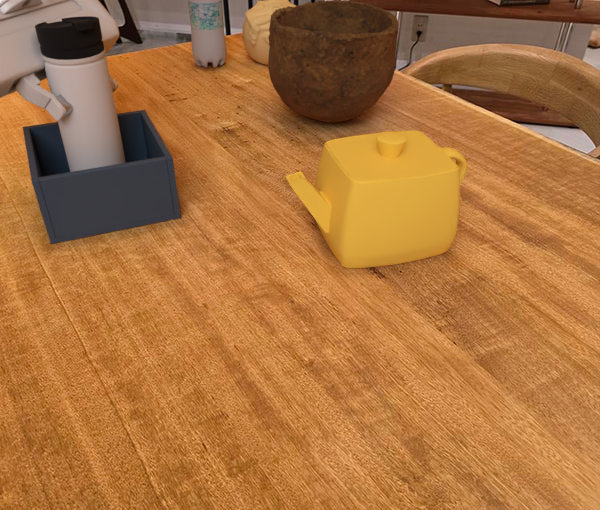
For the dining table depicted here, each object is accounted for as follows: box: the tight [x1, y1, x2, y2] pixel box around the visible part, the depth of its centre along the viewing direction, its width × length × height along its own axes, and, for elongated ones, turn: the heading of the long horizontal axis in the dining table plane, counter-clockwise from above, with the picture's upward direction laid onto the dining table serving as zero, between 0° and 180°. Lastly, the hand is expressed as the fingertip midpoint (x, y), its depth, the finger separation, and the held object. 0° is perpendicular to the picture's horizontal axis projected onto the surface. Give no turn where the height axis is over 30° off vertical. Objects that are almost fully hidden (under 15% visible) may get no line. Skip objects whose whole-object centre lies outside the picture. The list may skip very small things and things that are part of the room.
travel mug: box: [35, 16, 126, 172], centre depth 64 cm, size 6×7×20 cm
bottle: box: [187, 0, 227, 69], centre depth 104 cm, size 7×7×20 cm
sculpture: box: [241, 0, 297, 66], centre depth 109 cm, size 11×12×11 cm
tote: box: [22, 109, 182, 245], centre depth 69 cm, size 14×14×8 cm
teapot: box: [284, 130, 468, 269], centre depth 62 cm, size 20×12×12 cm, turn 106°
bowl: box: [267, 0, 400, 123], centre depth 87 cm, size 19×19×15 cm
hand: (90, 103), depth 63 cm, fingers closed on travel mug, 6 cm apart
